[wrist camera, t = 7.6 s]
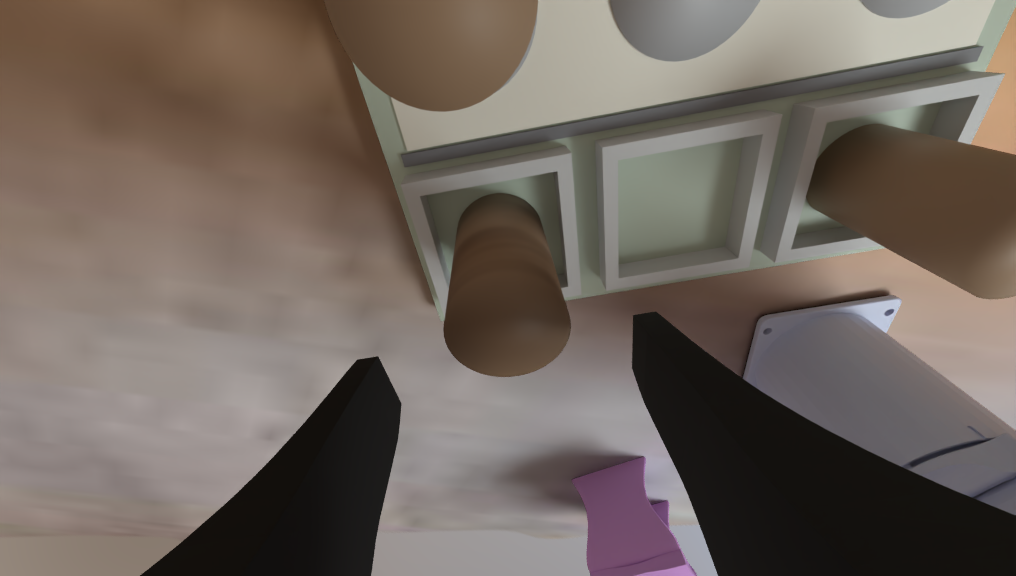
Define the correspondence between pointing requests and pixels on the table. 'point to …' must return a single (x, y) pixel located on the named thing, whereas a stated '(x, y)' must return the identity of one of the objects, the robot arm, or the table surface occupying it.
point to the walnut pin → (504, 291)
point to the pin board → (695, 131)
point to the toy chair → (628, 525)
